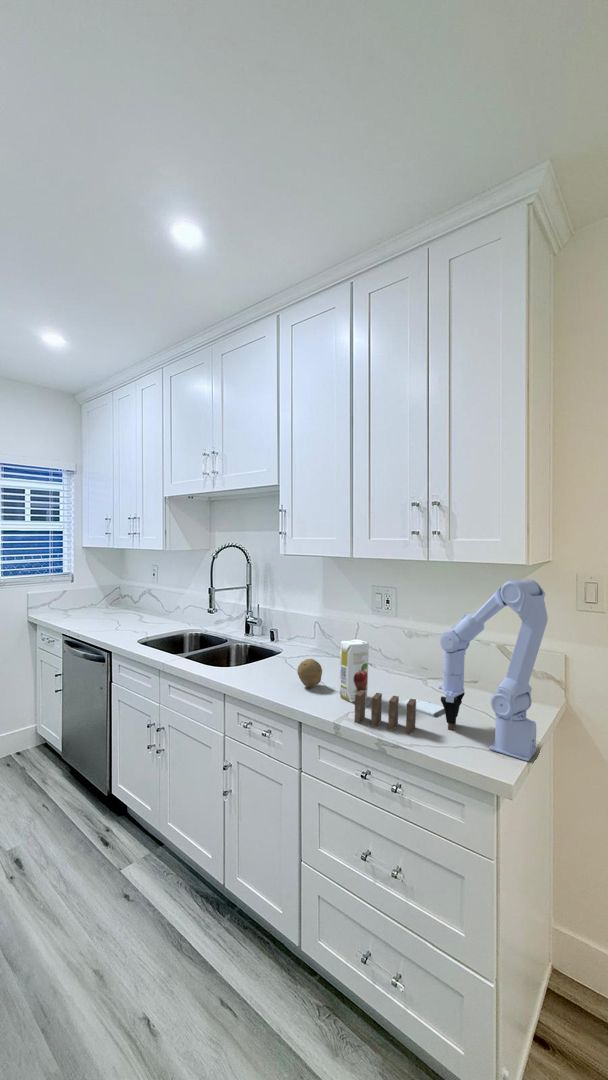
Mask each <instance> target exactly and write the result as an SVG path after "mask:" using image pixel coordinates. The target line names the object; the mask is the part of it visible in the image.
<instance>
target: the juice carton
mask: <svg viewBox="0 0 608 1080" xmlns="http://www.w3.org/2000/svg"><path fill="white" fill-rule="evenodd" d="M369 644H370V643H369V642H367V641H365V640H361V639H352V640H341V642H340V656H339V658H340V659H339V660H340V662H339V697H340V698H341V699H343V700H345V701H347V702H349V703H355V695H356V694H357V693H358V692H359V691H360V690H364V691H366V695H365V700H367V699H368V690H369V689H368V687H369V685H368V683H369V656H370V655H369V649H370V648H369Z"/></svg>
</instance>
